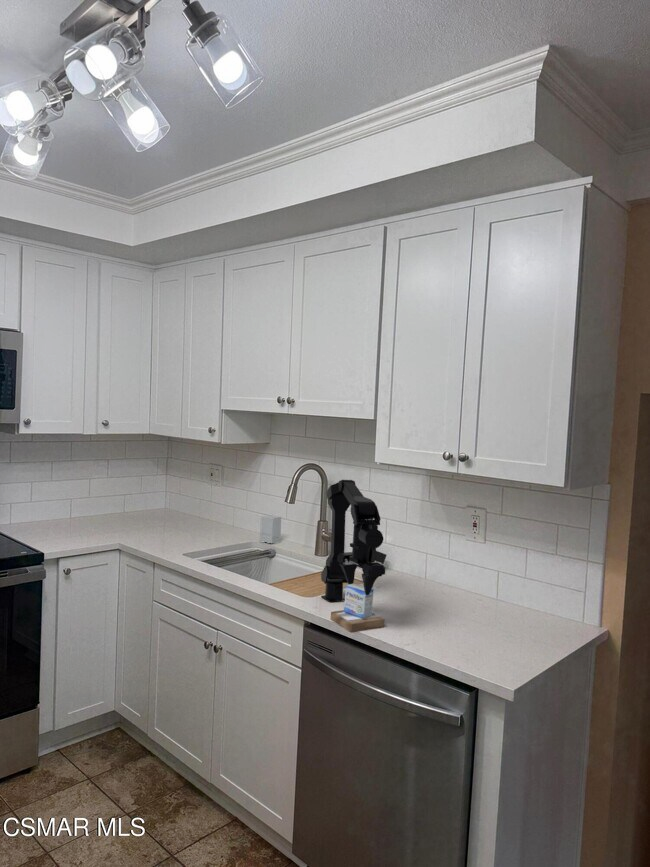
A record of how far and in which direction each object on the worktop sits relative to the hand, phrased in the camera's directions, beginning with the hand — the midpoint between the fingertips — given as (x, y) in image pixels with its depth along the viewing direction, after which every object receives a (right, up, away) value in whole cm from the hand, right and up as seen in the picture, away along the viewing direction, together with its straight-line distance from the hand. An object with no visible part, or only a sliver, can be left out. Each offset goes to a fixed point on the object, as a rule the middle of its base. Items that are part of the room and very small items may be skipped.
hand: (359, 590), depth 197 cm
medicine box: (0, -8, +1) cm, 8 cm away
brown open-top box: (-1, -10, +1) cm, 10 cm away
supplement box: (-37, -4, +110) cm, 116 cm away
